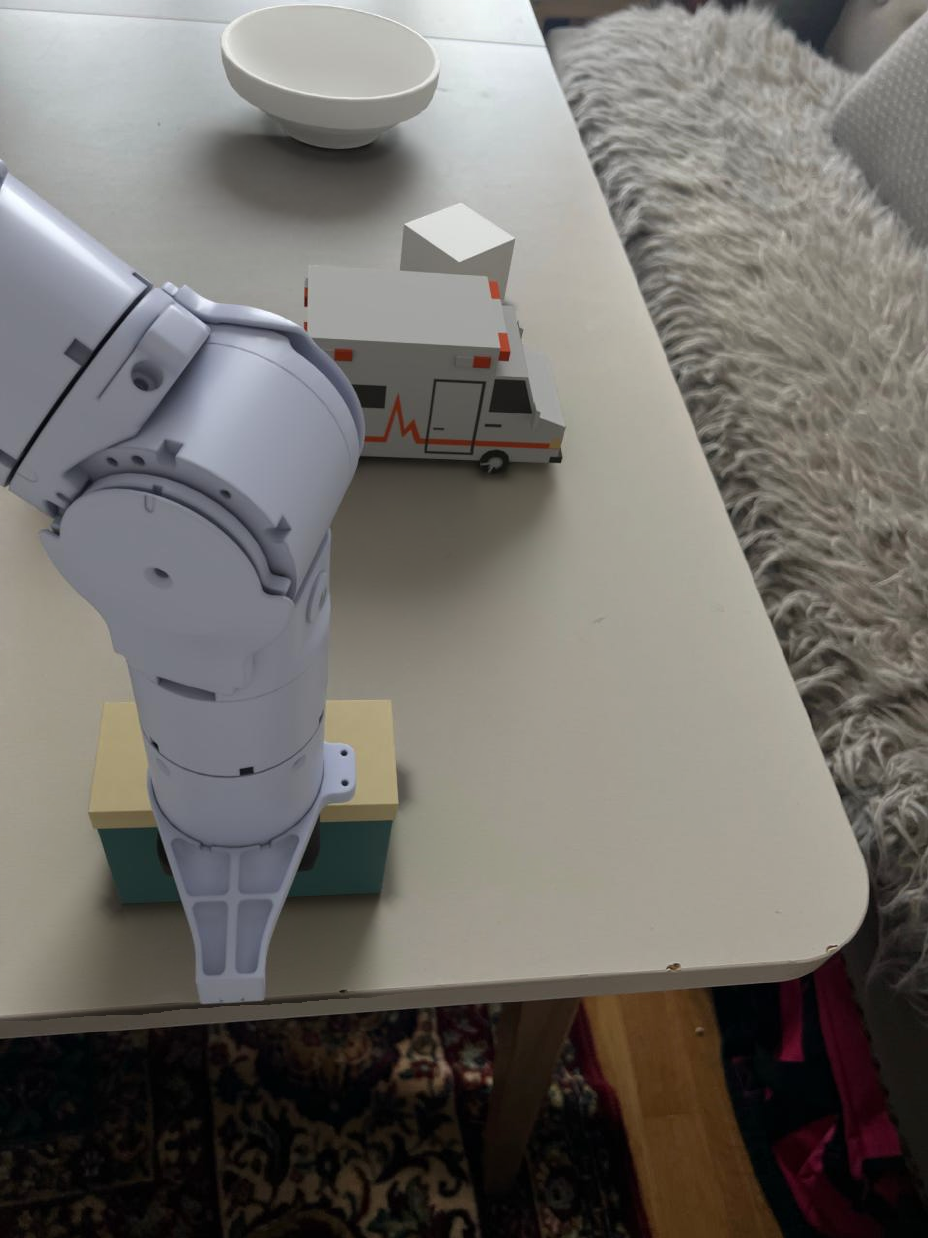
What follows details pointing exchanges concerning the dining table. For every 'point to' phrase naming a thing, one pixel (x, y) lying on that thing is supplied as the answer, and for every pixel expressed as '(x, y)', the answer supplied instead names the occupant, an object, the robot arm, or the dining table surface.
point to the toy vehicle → (436, 366)
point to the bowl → (330, 71)
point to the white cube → (458, 246)
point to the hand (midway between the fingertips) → (247, 883)
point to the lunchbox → (346, 829)
